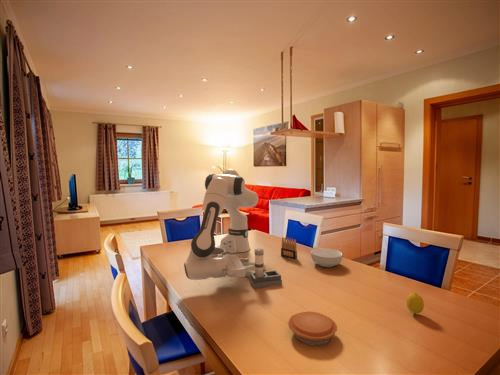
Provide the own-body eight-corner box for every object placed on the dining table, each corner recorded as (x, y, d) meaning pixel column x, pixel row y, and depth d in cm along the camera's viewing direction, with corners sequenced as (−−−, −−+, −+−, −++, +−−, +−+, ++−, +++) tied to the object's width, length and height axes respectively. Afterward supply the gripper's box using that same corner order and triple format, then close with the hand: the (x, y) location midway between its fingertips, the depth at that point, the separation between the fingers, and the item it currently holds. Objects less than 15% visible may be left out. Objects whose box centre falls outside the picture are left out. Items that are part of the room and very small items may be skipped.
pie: (328, 320, 100) (328, 307, 100) (344, 349, 85) (344, 333, 84) (284, 322, 100) (284, 308, 99) (292, 351, 84) (292, 335, 84)
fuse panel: (254, 288, 127) (254, 279, 127) (249, 280, 136) (249, 272, 135) (281, 284, 130) (281, 276, 130) (275, 277, 139) (275, 269, 139)
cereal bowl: (344, 271, 145) (344, 258, 145) (311, 269, 149) (311, 256, 148) (340, 260, 162) (340, 248, 161) (310, 259, 165) (310, 247, 165)
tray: (230, 273, 145) (230, 267, 145) (242, 265, 156) (242, 260, 155) (254, 278, 138) (254, 272, 138) (265, 270, 149) (265, 265, 148)
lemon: (407, 308, 107) (408, 288, 107) (424, 313, 104) (425, 292, 103) (404, 314, 103) (405, 293, 102) (422, 319, 99) (423, 297, 99)
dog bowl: (229, 255, 176) (228, 246, 175) (223, 265, 158) (223, 256, 157) (202, 254, 178) (202, 246, 177) (193, 264, 159) (193, 255, 159)
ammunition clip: (297, 258, 166) (297, 238, 165) (295, 259, 164) (295, 239, 163) (282, 255, 173) (282, 236, 172) (280, 255, 172) (280, 236, 171)
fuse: (253, 279, 131) (252, 250, 130) (257, 276, 135) (257, 248, 134) (261, 281, 129) (260, 251, 128) (265, 278, 133) (265, 249, 132)
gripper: (225, 268, 117) (257, 264, 120) (217, 253, 137) (245, 250, 140) (225, 283, 117) (257, 279, 121) (218, 266, 137) (245, 263, 141)
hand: (250, 263), depth 131 cm, fingers open, 8 cm apart
